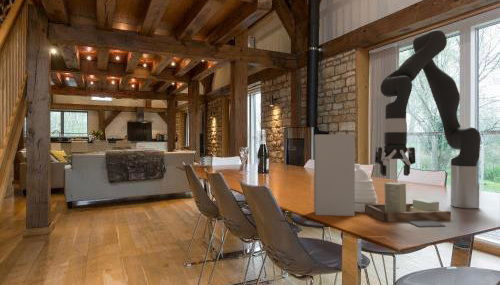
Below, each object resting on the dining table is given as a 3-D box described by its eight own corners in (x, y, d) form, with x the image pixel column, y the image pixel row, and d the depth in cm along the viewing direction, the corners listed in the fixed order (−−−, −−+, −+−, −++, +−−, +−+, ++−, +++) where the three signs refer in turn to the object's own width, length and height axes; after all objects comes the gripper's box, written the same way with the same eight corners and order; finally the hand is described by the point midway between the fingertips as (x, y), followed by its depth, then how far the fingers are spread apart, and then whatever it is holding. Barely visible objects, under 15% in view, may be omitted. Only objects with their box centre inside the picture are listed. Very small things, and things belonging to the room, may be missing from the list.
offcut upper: (423, 206, 125) (423, 198, 125) (438, 210, 118) (438, 201, 118) (412, 207, 123) (412, 199, 123) (428, 211, 117) (428, 202, 117)
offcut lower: (427, 214, 125) (427, 206, 125) (443, 219, 116) (443, 211, 116) (409, 214, 125) (410, 206, 125) (424, 220, 116) (424, 211, 116)
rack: (423, 210, 129) (423, 203, 129) (450, 220, 113) (450, 211, 113) (365, 212, 126) (365, 204, 126) (384, 221, 111) (384, 213, 111)
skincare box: (406, 217, 118) (406, 183, 118) (400, 218, 116) (400, 184, 116) (390, 213, 123) (390, 181, 123) (383, 215, 121) (384, 182, 121)
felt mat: (431, 221, 112) (431, 219, 112) (445, 226, 105) (445, 225, 105) (406, 221, 111) (406, 220, 111) (418, 227, 104) (418, 225, 104)
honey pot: (337, 207, 136) (337, 164, 136) (361, 204, 141) (361, 163, 141) (359, 213, 124) (359, 166, 124) (384, 210, 130) (384, 165, 129)
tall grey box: (351, 212, 126) (351, 134, 125) (354, 215, 120) (355, 134, 120) (314, 211, 127) (314, 134, 127) (315, 214, 121) (315, 134, 121)
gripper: (408, 131, 124) (407, 174, 124) (372, 131, 122) (371, 174, 123) (420, 131, 116) (419, 176, 116) (381, 130, 115) (381, 176, 115)
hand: (394, 175), depth 119 cm, fingers open, 8 cm apart
